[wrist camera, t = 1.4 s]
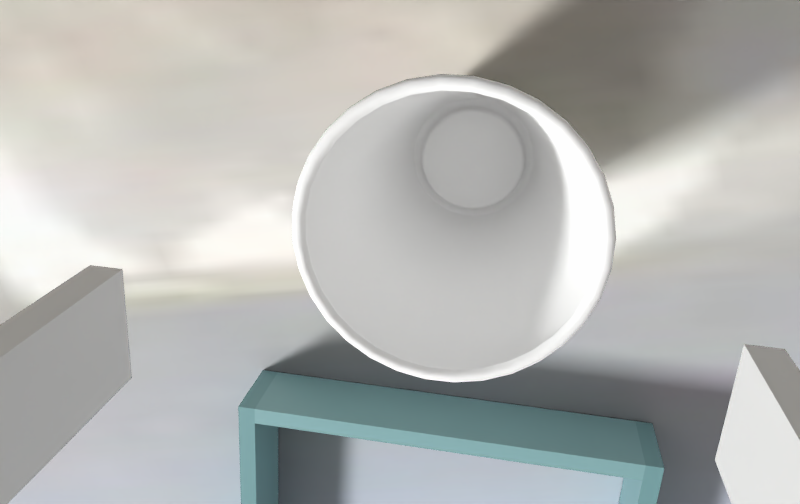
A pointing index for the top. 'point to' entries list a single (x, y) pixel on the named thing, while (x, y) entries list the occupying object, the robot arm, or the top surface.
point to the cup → (453, 228)
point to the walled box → (439, 431)
